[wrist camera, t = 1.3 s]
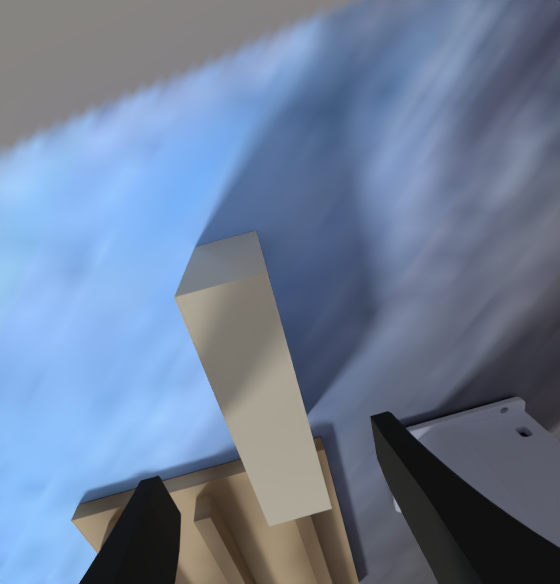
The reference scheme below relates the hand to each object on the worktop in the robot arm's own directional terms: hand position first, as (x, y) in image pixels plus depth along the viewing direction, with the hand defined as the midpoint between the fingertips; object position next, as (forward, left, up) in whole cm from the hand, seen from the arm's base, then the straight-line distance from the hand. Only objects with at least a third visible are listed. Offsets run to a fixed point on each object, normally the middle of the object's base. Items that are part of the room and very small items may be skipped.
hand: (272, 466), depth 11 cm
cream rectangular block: (0, 0, -8) cm, 8 cm away
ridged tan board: (+6, +17, -8) cm, 20 cm away
